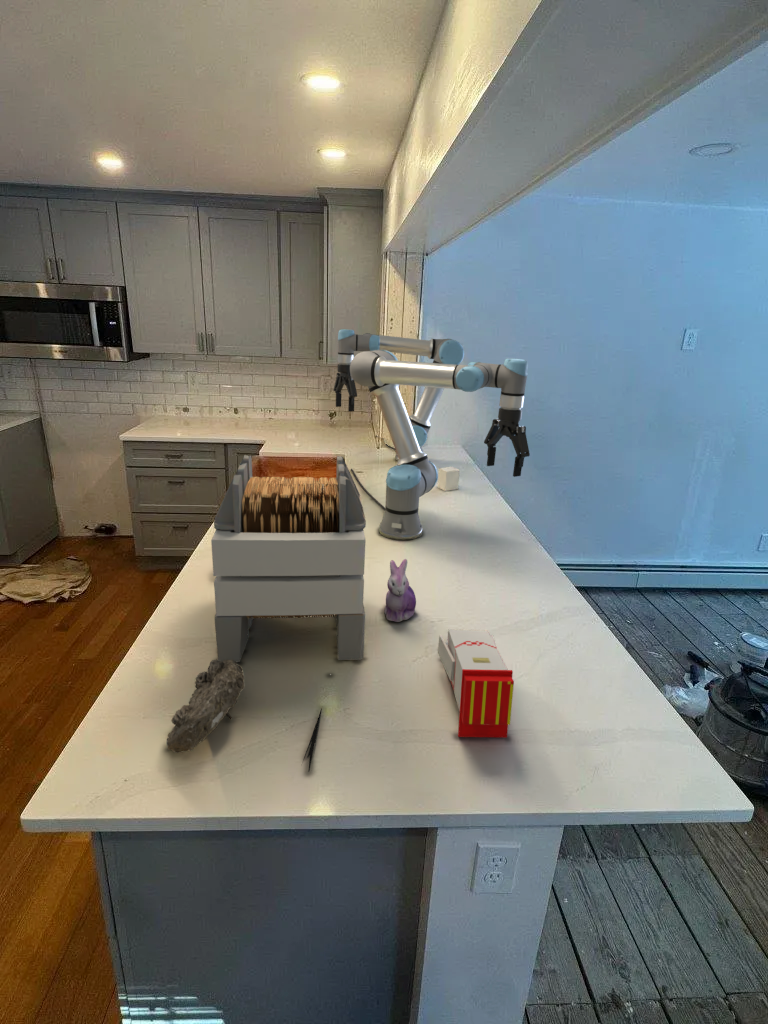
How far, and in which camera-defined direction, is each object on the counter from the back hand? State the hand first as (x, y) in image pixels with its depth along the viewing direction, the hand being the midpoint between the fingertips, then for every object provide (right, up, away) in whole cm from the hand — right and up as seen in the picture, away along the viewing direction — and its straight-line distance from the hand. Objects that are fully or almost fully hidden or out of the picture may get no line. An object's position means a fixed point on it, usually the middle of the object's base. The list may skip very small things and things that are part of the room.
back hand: (344, 409), depth 274 cm
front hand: (+59, -36, -82) cm, 107 cm away
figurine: (+23, -76, -127) cm, 150 cm away
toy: (+37, -87, -156) cm, 182 cm away
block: (+48, -39, -20) cm, 65 cm away
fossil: (-14, -89, -166) cm, 189 cm away
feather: (+7, -90, -166) cm, 188 cm away
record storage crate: (-3, -78, -133) cm, 154 cm away
